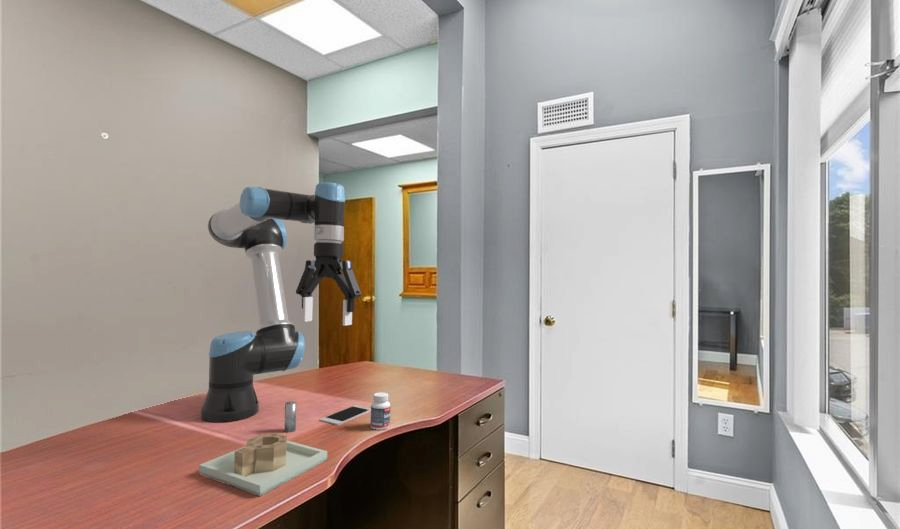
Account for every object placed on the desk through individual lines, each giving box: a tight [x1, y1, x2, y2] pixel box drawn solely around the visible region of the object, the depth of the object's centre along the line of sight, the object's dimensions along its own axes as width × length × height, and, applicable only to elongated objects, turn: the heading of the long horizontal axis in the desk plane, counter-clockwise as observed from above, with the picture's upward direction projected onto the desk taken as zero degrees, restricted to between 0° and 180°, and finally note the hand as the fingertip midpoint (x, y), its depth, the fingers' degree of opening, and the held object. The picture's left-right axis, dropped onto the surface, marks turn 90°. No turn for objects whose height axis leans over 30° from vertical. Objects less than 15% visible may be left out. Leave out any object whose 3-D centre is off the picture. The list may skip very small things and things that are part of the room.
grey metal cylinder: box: [283, 401, 297, 433], centre depth 115 cm, size 3×3×7 cm
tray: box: [198, 440, 328, 497], centre depth 94 cm, size 18×18×2 cm
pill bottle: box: [370, 391, 391, 431], centre depth 119 cm, size 5×5×9 cm
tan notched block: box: [234, 432, 288, 477], centre depth 92 cm, size 11×8×5 cm
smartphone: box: [319, 404, 371, 426], centre depth 128 cm, size 7×15×1 cm, turn 152°
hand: (326, 323), depth 114 cm, fingers open, 13 cm apart
